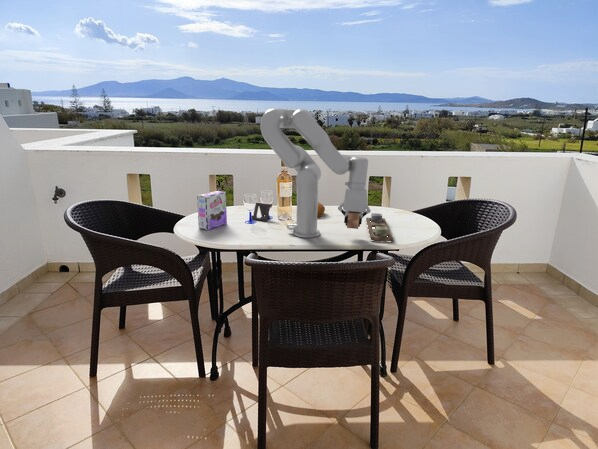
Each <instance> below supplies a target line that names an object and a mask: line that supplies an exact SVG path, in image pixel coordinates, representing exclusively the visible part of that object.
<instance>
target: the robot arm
mask: <svg viewBox="0 0 598 449" xmlns="http://www.w3.org/2000/svg"><path fill="white" fill-rule="evenodd" d="M259 128H260V133H261V136H262V137H263V139H264V140H265V142H266V143H267V145H268V146H270V147H269V148H271V149H272V151H273V152H274V153H275V154H276V155H277V157H278V158H279V159H280V160H281V161H282V163H283V164H284V165H285V166H286V167H288V168H289V169H294V170H295V171H296V180H295V181H296V183H295V184H296V222H295V223H294V224H291V223H290V224H289V223H287V224H286V228H287V229H288V230H293V231H292V234H293V235H294V236H296V237H298V238H303V239H305V238H306V239H307V238H308V239H309V238H311V239H312V238H316V237H319V236H320V235H321V231H320V230H319V229H318V218H317V211H318V202H319V180H320V179H321V176H322V170H321V168H320V167H319V164H317V163H316V161H315V160H314V159H313V158H312V157H311V155H310V154H309V153H308V152H307V151H306V150H305V148H303V147H302V146H300V145H295V144H294V143H293V142H292V141H291V139H290V138H289V137H288V136H287V135H286V134H285V133H284V132H283V130H282V129H294V130H296V131H297V133H298V134H299V135H300V136H301V137H302V138H303V139H304V140H305V141H306V142H307V143H308V144H309V146H310V147H312V149H313V151H314V152H315V153H316V155H318V157H319V158H320V159H321V160H322V162H324V164H325V165H326V166H327V167H328V168H329V169H330V170H331V171H332V172H333V173H335V174H336V175H341V176H342V175H345V174H346V173H347V172H349V174H348V175H349V176H348V181H346V182H345V183H344V186H347V187H346V189H345V192H344V195H343V197H344V198H343V202H342V203H341V204H339V205H338V207H337V210H338V211H339V212H341V214H342V215H343V216H344V220H343V223H344V224H345V226H346V227H347V221H348V212H349V211H351V212H359V213H360V217H359V226H358V228H359V227H361V226H360V225H362V221H363V218H364V217H365V216H366V215H367V214H371V212H372V211H371V208H370V207H369V206H368V190H367V189H366V185H367V179H368V178H367V177H368V169H369V159H368V158H367V157H362V156H350V155H346V154H341V152H340V151H339V150H338V149H337V148H336V147H335V146H334V145H333V142H331V138H330V137H329V135H328V133H327V132H326V131H325V130H324V129H323V128H322V127H321V125H320V124H319V123H318V122H317V121H316V120H315V119H314V118H313V114H312V113H311V112H310V111H309V110H307V109H293V108H292V109H291V108H269V109H268V110H266V111H265V112H264V113H263V115H262V117H261V120H260V127H259Z"/></svg>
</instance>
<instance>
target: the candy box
mask: <svg viewBox="0 0 598 449" xmlns="http://www.w3.org/2000/svg"><path fill="white" fill-rule="evenodd" d="M226 194H227V193H226V191H220V190H215V191H211V192H208V193H203V194H197V196H196V197H197V214H198V216H197V218H198V221H197V222H198V223H197V224H198V229H201V230H204V231H210V230H212V229H215V228H219V227H222V226H225V225H227V224H228V222H227V220H228V219H227V216H228V215H227V195H226Z"/></svg>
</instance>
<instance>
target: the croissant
mask: <svg viewBox="0 0 598 449" xmlns="http://www.w3.org/2000/svg"><path fill="white" fill-rule="evenodd" d="M325 210H326V207H325V206H324V205H323V204H322V203H320V202H319V201H318V211H317V217H318V218H321V217H322V216H323V215H324V213H325Z"/></svg>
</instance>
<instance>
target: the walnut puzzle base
mask: <svg viewBox="0 0 598 449" xmlns="http://www.w3.org/2000/svg"><path fill="white" fill-rule="evenodd" d="M370 214H371V215H370V217H365V219H366V220H365V222H366V221H367V223H366V226H367V225H368V227H367V230H368V229H369V231H368V234H370V235H369V238H371V239H370V241H371V240H374V241H393V242H394V236H393V234H392V233H391V229H390V228H389V225H388V223H387V221H386V218H385V217H384V218H383V214H382V213H373V212H372V213H371V212H370ZM370 221H371V222H370ZM372 227H375V229H372ZM374 235H375V236H374ZM387 236H388V237H387Z"/></svg>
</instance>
